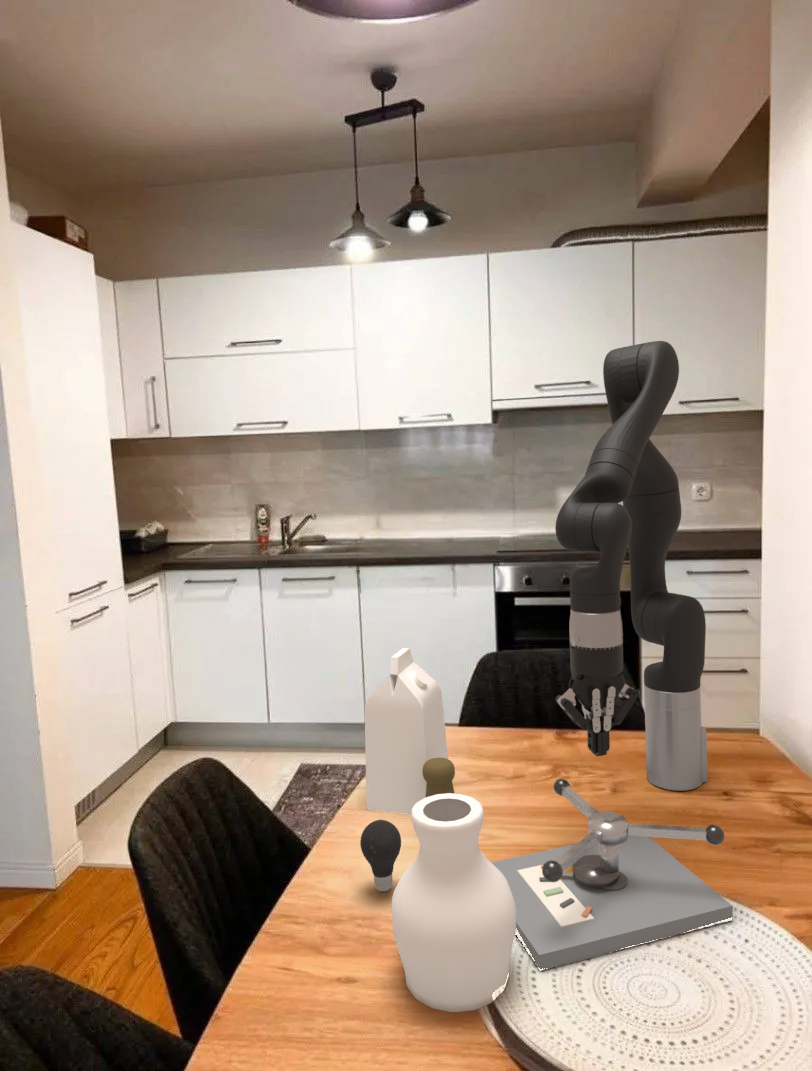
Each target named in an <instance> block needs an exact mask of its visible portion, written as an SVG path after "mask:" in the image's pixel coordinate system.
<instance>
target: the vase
mask: <svg viewBox="0 0 812 1071" xmlns="http://www.w3.org/2000/svg"><path fill="white" fill-rule="evenodd" d="M411 821H412V826H413V829H414V832H415V834H416V836H417V838H418V841H419V850H418V854H417V856H416V858H415V860H413V861H412V863H411V864H410V865H408V867H407V869H405V871H404V872H403V874H402V875H401V878H400V879H399V881H398V883H397V884H396V887H395V888H394V890H393V894H392V897H391V922H392V923H391V924H392V932H393V938H394V941H395V944H396V947H397V951H398V953H399V957H400V961H401V964H402V967H403V970H404V976H405V983H406V988H407V989H409V991H410V993H411V994H412V995H413V997H414V998H415V999H416V1000H418V1001H419V1002H420V1003H422V1004H424V1005H425V1006H427V1007H430V1008H431V1009H433V1010H439V1011H443V1012H449V1013H461V1012H471V1011H477V1010H478V1009H481V1008H483V1007H485V1006H488V1005H489V1004H493V1002H492V994H493V992H495V990H497V989H498V988H499V987H501V986H502V985H504V984H505V982H506V979H507V975H508V973H509V974H510V964H511V963H510V962H511V956H512V955H511V954H512V948H513V944H514V940H515V936H516V935H515V929H516V919H517V918H516V906H515V902H514V899H513V896H512V893H511V890H510V887H509V885H508V882H507V880H506V878H505V877H504V875H503V874H502V873H501V872H500V871H499V870H498V869H497V868H496V867H495V866H494V865H493V864H492V863H491V862H492V861H490V860H489V859H488V858H487V857H486V856H485V854H484V853H483V852H482V850H481V848H480V847H479V846H480V845H479V837H480V834H481V830H482V827H483V823H484V809H483V806H482V803H481V802H480V801H478V800H477V799H476V798H474V797H472V796H468V795H466V794H462V793H461V794H460V793H455V794H453V793H446V794H436V795H433V796H429V797H426V798H424V799H422V800H420V801H419V802H417V803H416V804H415V805H414V807H413V808H412V809H411Z"/></svg>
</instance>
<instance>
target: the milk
mask: <svg viewBox="0 0 812 1071" xmlns="http://www.w3.org/2000/svg"><path fill="white" fill-rule="evenodd" d="M389 667H390V668H389V669H390V670H389V676H388V677H386V679H385V680H384V681H383V682H382V683H381V684H380V685H379V686H378V687H377V688H376V689H374V690H375V691H373V692H372V694H371V695H370V696H369V697H368V698H367V700H366V702H365V705H364V734H365V735H364V737H365V739H364V742H365V745H364V746H365V791H366V792H365V794H366V798H365V799H366V801H365V802H366V810H367V809H369V810H368V811H373V810H379V811H378V812H383V811H393V812H398V813H397V814H401V813H405V814H404V815H410V814H411V809H412V808H413V807H414V805H415V804H416V803H417V802H419V801H420V800H422V799H424V798H426V784H427V782H426V781H425V779H424V777H423V772H422V770H423V765H424V764H425V762H426V761H428V760H430V759H432V758H446V759H448V760H449V755H448V754H449V753H448V743H447V734H446V732H447V731H446V724H445V714H444V713H445V712H444V705H443V693H442V689H441V686H440V684H438V682H437V681H436V680H435V679H434V678H433V677H432V676H430V675H429V674H428V673H427V672H426V671H425V670H424V669H423V668H421V667H420V666H419V665H418V664H417V663H416V662H415V661H414V660H413V655H412V652H411V648H409V647H407V648H406V647H403V648H401V649H400V650H398V651H397V652H395V654H393V655H392V656H390V666H389ZM381 810H382V811H381ZM406 813H407V814H406Z"/></svg>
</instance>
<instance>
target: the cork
mask: <svg viewBox="0 0 812 1071" xmlns="http://www.w3.org/2000/svg"><path fill="white" fill-rule="evenodd" d="M455 770H456V768H455V765H454V763H453V761H451V760H450V759H449V758H448V759H446V758H432V759H430V760H428V761H426V762H425V764H424V765H423V770H422V772H423V777H424V779H425V781H426V782H427V784H426V797H429V796H433V795H436V794H446V793H453V794H456V793H455V790H454V784H453V780H454V778H455V773H456V771H455Z"/></svg>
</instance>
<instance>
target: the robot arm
mask: <svg viewBox="0 0 812 1071" xmlns="http://www.w3.org/2000/svg"><path fill="white" fill-rule="evenodd" d="M678 358H679V357H678V354H677V352H676V350H675V348H674V347H673V346H672V344H671V343H669V342H668V341H665V340H654V341H649V342H643V343H637V344H633V345H632V344H631V345H628V346H623V347H617V348H613V349H611V350H610V351H608V352H607V354H606V355H605V357H604V360H603V367H602V368H603V369H602V375H603V376H602V377H603V386H604V391H605V396H606V402H607V405H608V406H607V407H608V410H609V416H610V421H611V426H610V427H609V428H608V429H607V430H606V431H605V432H604V433H603V435H601V437H599V438H600V439H599V440H598V441H597V443H596V445H595V447H594V448H593V451H592V453H591V455H590V456H591V457H590V460H589V462H588V466H587V469H586V471H585V473H584V474H585V475H584V476H583V477H582V479H581V480H580V481H579V483H578V484H577V485H576V487H575V488H574V490H573V491H572V492H571V493H570V495H569V496H568V498H566V500H565V501H564V502H563V504H562V506H561V508H560V509H559V512H558V514H557V516H556V520H555V527H554V528H555V535H556V539H557V541H558V542H559V544H560V545H561V546H562V547H563V548H564V549H566V550H567V551H572V552H593V553H594V552H596V553H600V558H599V560H598V562H597V564H596V565H591V566H585V567H584V566H583V567H580V568H579V567H578V568H577V569H575V570H573V571H572V572H571V574H570V577H569V591H570V592H569V595H570V597H569V598H570V600H569V602H570V603H569V604H570V615H569V627H568V628H569V630H568V631H569V632H568V633H569V659H570V662H569V664H570V665H569V666H570V674H571V676H570V680H569V681H568V689H567V690H566V691H565V692H564V693H563V694H562V695H561V694H558V695H556V697H555V699H554V700H555V702H556V703H557V705H558V706H559V707H560V708H561V709H562V710H563V712H564V713H565V714H566V715H567V717H569V718H570V720H571V721H572V722H573V723H574V724H575V725H576V726H578V727H579V728H581V730H583V731H587V733H586V734H587V748H588V750H589V751H590V752H591V754H592V755H594V756H595V757H602V756H607V754H608V751H610V746H611V744H610V742H611V741H610V739H611V738H610V732H611V729H612V727H614V726H620V725H621V724H622V723H623V721H624V720H625V717H626V716H627V714H629V712H630V710H631V709H632V707H633V706H634V703H635V702H636V700H637V698H639V695H640V692H639V690H637V689H636V688H634V687H631V686H630V685H628V684H627V683H626V679H625V677H624V675H623V671H624V638H623V637H624V630H623V627H624V626H623V620H622V612H621V579H622V578H621V577H622V572H623V566H624V562H625V558H626V554H627V550H628V554H629V555H628V557H629V570H630V571H629V572H630V611H631V621H632V626H633V629H634V630H635V633H636V634H637V636H638V637H639V638H640V639H642V640H643V641H646V642H648V643H652V644H655V645H659V646H663V654H662V661H658V662H654V663H651V664H649V665H647V666H646V667H645V668H644V670H643V688H644V690H643V691H644V692H643V693H644V694H643V697H644V720H645V721H644V723H645V724H644V725H645V755H646V756H645V757H646V779H647V780H648V782H649V783H650V784H652V785H653V786H655V787H657V788H661V789H665V790H669V791H678V792H680V791H682V792H683V791H691V790H695V789H697V788H699V787H700V786H701V785H702V784H703V783H707V782H708V738H707V736H708V734H707V728H706V727H704V726H702V702H701V678H702V674H703V672H704V668H705V659H706V655H705V654H706V635H707V634H706V630H707V629H706V627H707V623H706V615H705V611H704V608H703V606H702V603H701V602H700V600H698V599H697V598H695V597H692V596H690V595H686V594H685V595H684V594H679V593H674V592H669V590H668V586H667V579H666V569H665V568H666V558H667V555H668V551H669V549H670V548H671V545H672V543H673V541H674V539H675V536H676V534H677V532H678V529H679V526H680V524H681V520H682V504H681V495H680V494H681V493H680V488H679V487H680V485H679V479H678V476H677V473H676V472H675V470H674V468H673V467H672V466H671V464H670V462H669V461H668V460H667V459H666V457H665V456H664V455H663V453H661V451H660V450H659V449H658V448H657V447H656V446H655V444H654V443H653V442H652V441H651V436H652V434H653V432H654V431H655V429H656V427H657V426H658V424H659V421H660V420H661V418H662V416H663V414H664V413H665V410H666V408H667V407H668V404H669V402H670V401H671V399H672V397H673V395H674V393H675V391H676V388H677V385H678V382H679V377H680V375H679V374H680V364H679V359H678ZM621 503H622V504H621ZM576 700H577V701H578V702H579V703H580V705H581V710H582V712H583V715H584V716H583V715H582V713H581V712H580V711H579V710H578V709H577V708H576V705H577V701H576Z"/></svg>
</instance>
